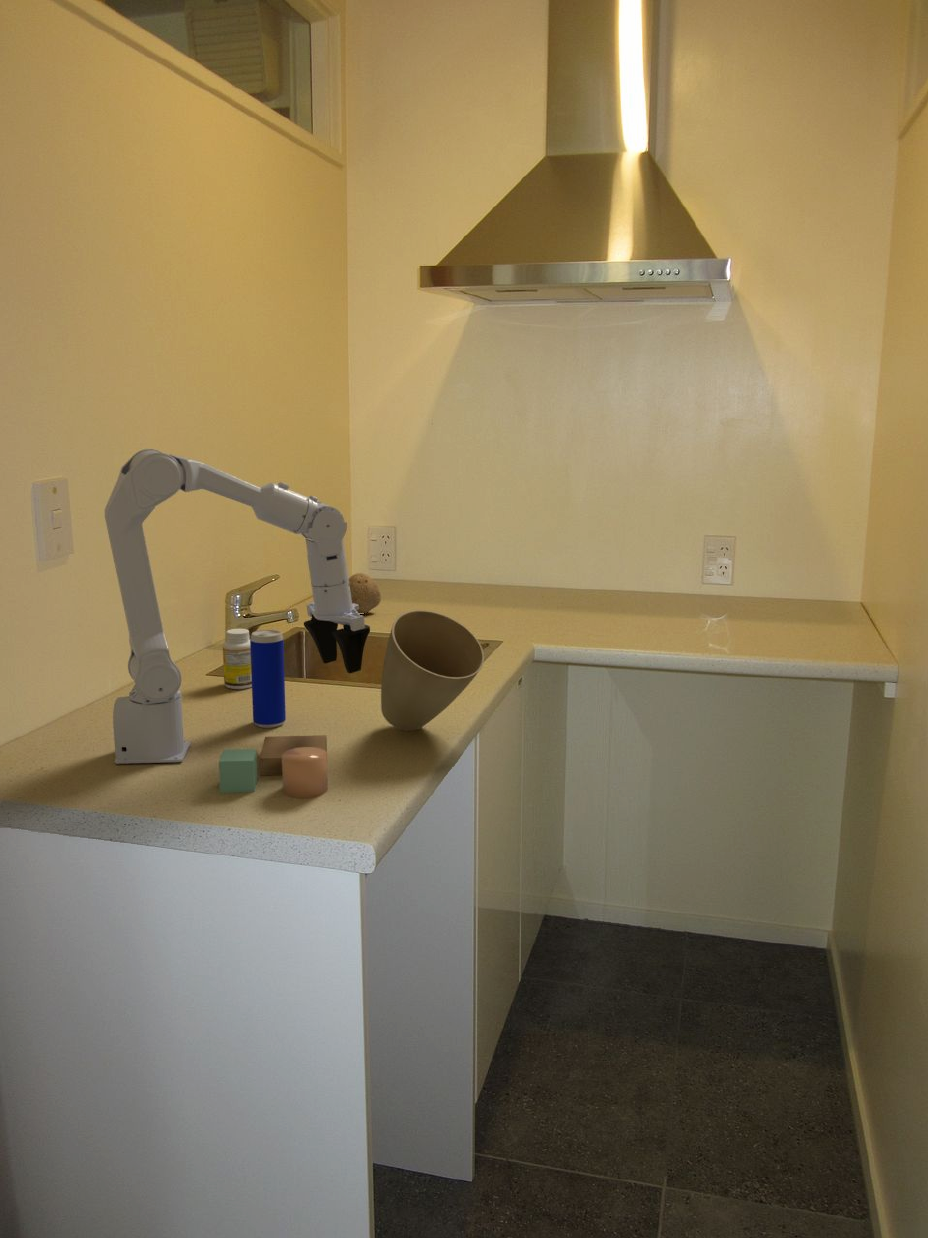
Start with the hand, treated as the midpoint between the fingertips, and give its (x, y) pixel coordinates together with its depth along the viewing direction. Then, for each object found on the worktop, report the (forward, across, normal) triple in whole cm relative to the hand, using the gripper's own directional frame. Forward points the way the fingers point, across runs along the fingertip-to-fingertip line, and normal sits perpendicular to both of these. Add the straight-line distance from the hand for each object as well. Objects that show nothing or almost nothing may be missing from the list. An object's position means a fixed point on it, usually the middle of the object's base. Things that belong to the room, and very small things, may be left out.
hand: (341, 666), depth 158 cm
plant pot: (+10, -4, -8) cm, 13 cm away
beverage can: (+9, +10, +9) cm, 16 cm away
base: (+9, -8, +14) cm, 19 cm away
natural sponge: (+14, +71, -44) cm, 85 cm away
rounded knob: (+9, -18, +17) cm, 27 cm away
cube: (+8, -12, +24) cm, 28 cm away
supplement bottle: (+9, +32, +4) cm, 34 cm away
